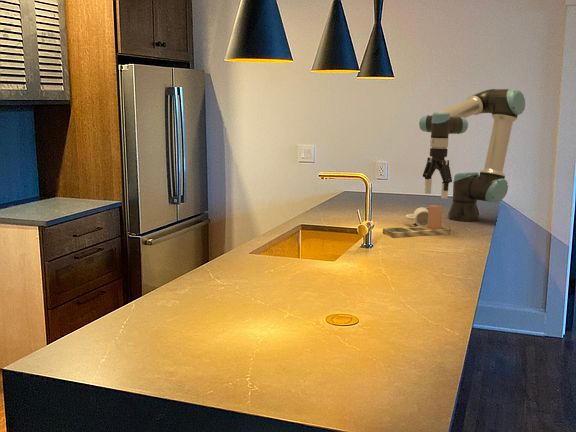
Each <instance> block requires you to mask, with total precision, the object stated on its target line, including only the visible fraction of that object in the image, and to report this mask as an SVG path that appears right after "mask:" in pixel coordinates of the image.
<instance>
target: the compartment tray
mask: <svg viewBox="0 0 576 432" xmlns="http://www.w3.org/2000/svg"><path fill="white" fill-rule="evenodd" d="M382 234H385V235H387V236H388V237H391V238H394V239H395V238H409V237H410V238H412V237H425V236H440V235H451V229H449V228H447V227H445V226H442V229H435V230H432V229H429V228H427V226H418V225H417V226H404V227H403V226H401V227H390V228H388V227H387V228H382Z"/></svg>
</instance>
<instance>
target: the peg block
mask: <svg viewBox="0 0 576 432" xmlns="http://www.w3.org/2000/svg"><path fill="white" fill-rule="evenodd" d="M443 208H444V207H443V206H442V205H438V204H432V205H428V208H427V209H428V225H427V228H429V229H432V230H435V229H442V227H443Z"/></svg>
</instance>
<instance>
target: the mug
mask: <svg viewBox="0 0 576 432" xmlns="http://www.w3.org/2000/svg"><path fill="white" fill-rule="evenodd" d="M405 219H407V220H411V221H414V223H415V224H416V225H417V226H427V225H428V208H425V207H424V206H423V207H422V206H421V207H418V208H416V209H415V210H414V211H413V213H411V214H410V213H409V214H406V215H405Z"/></svg>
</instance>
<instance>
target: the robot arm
mask: <svg viewBox="0 0 576 432" xmlns="http://www.w3.org/2000/svg"><path fill="white" fill-rule="evenodd" d="M525 98H526V97H525V95H524V93H523V92H522V91H521V90H519V89H514V88H499V89H498V88H490V89H486V90H483V91H480V92H478V93H475V94H473V95H471V96H469V97H468V98H467V99H466V100H463V101H462V102H460V103H458V104H455V105H452V106H450V107H448V108H445V109H444V110H442V111H433V113H432V114H431V115H430V114H427V115H422V116H421V117H420V119H419V123H418V125H419V126H418V127H419V128H420V130H421V131H422V132H427V133H431V134H430V141H429V142H430V148H429V157H427V160H426V165H425V167H424V170H423V173H422V178H424V179H425V181H424V194H425V195H427V194H428V195H429V194H430V195H431V193H432V184H433V183H432V181H433V179H432V177H433V175H434V173H435V171H436V170H437V171H438V172H439V175H440V177H441V179H442V181H441V191H440V192H441V194H440V198H441V199H448V197H449V196H448V194H449V193H448V192H449V185H450V183H453V187H452V189H453V190H452V202H451V206H450V208H449V211H448V214H447V218H448V219H449V220H453V221H459V222H460V221H461V222H477V221H479V220H480V212H479V208H478V202H477V201H482V202H487V203H496V204H497V203H499V202H501V201H503V200H504V198H505V197H506V196H507V193H508V190H509V185H508V181H507V180H506V179H505V178H506V175H505V174H504V172H503V171H504V167H505V162H506V158H507V152H508V146H509V142H510V139H511V138H510V137H511V132H512V128H513V123H514V122H515V121H517V119H518V116H519V115H521V114H523V112H524V111H525V109H526V99H525ZM481 114H491V118H492V119H493V125H492V129H491V135H490V137H489V138H490V139H489V144H488V149H487V152H486V159H485V162H484V168H483V169H482V170H480V172H475V171H474V172H458V173H456V174H454V177H453V178H452V173H451V172H452V171H451V168H450V160H449V159H445V158H447V157H448V147H449V135H451V134H453V135H454V134H455V135H460V134H463V133H466V132H467V130H468V127H469V122H468V120H467V118H468V117H471V116H478V115H481Z"/></svg>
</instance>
